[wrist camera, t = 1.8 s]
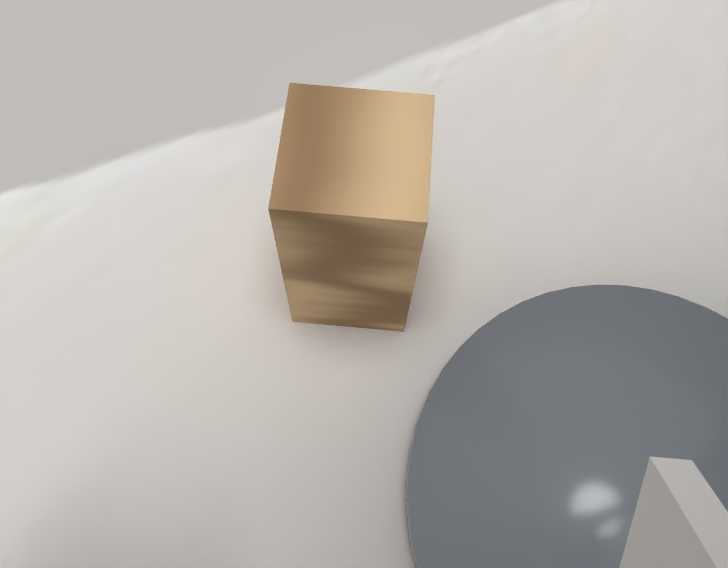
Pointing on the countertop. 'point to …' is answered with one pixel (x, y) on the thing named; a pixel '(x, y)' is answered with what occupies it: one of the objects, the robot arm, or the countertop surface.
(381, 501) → the countertop surface
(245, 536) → the countertop surface
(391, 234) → the oak block
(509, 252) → the countertop surface
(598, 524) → the dish
